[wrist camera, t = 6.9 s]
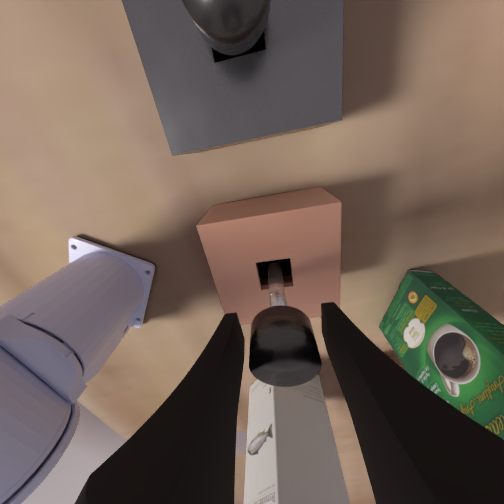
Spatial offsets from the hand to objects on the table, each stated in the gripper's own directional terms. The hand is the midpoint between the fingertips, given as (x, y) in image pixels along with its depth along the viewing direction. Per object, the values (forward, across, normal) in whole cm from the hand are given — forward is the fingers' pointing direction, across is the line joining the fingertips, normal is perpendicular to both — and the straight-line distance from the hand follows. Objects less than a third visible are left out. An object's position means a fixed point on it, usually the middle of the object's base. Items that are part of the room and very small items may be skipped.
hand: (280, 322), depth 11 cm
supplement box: (+10, +1, +21) cm, 23 cm away
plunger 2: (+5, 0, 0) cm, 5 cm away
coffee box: (+10, -13, +9) cm, 18 cm away
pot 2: (+9, 0, 0) cm, 9 cm away
